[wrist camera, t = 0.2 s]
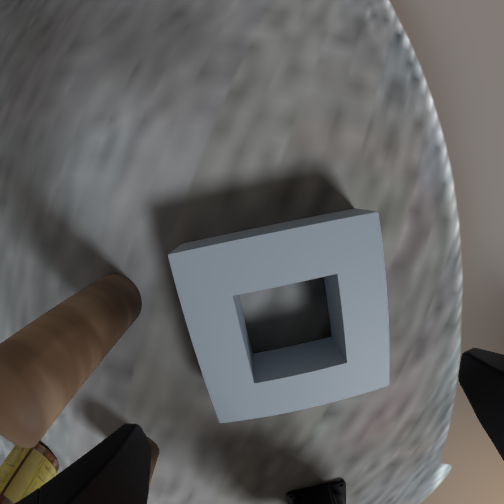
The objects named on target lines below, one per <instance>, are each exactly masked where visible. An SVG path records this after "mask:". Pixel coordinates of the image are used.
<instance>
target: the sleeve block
mask: <svg viewBox="0 0 504 504" xmlns="http://www.w3.org/2000/svg"><path fill="white" fill-rule="evenodd" d="M168 258H169V262H170V266H171V270H172V274H173V277H174V281H175V285H176V289H177V292H178V296H179V299H180V303H181V307H182V310H183V314H184V317H185V320H186V324H187V327H188V330H189V334H190V337H191V340H192V344H193V347H194V350H195V353H196V356H197V359H198V362H199V365H200V369H201V372H202V375H203V378H204V380H205V383H206V386H207V389H208V392H209V395H210V398H211V401H212V403H213V406H214V409H215V412H216V414H217V417H218V420H219V423H227V422H235V421H242V420H249V419H255V418H261V417H267V416H273V415H278V414H283V413H288V412H293V411H298V410H302V409H307V408H311V407H315V406H320V405H324V404H328V403H331V402H335V401H339V400H343V399H346V398H350V397H353V396H357V395H360V394H363V393H367V392H370V391H373V390H376V389H379V388H382V387H385V386H388V385H389V318H388V299H387V285H386V273H385V262H384V253H383V244H382V236H381V228H380V221H379V214H378V212H377V211H370V210H362V209H349V210H344V211H339V212H333V213H328V214H323V215H318V216H313V217H308V218H303V219H298V220H293V221H288V222H283V223H278V224H273V225H268V226H263V227H258V228H253V229H248V230H243V231H239V232H234V233H229V234H224V235H220V236H215V237H210V238H206V239H201V240H196V241H192V242H187V243H183V244H181V245H180V246H178V247H177V248H176V249H174V250H173V251H172V252H170V253H169V254H168ZM320 277H324V283H325V289H326V297H327V304H328V311H329V319H330V327H331V335H332V337H328V338H324V339H320V340H315V341H311V342H307V343H302V344H298V345H293V346H289V347H284V348H279V349H274V350H269V351H264V352H259V353H254V354H253V353H252V349H251V345H250V340H249V336H248V332H247V328H246V324H245V319H244V315H243V311H242V306H241V302H240V298H239V295H240V294H245V293H250V292H255V291H260V290H265V289H269V288H274V287H279V286H284V285H288V284H293V283H298V282H302V281H307V280H312V279H316V278H320Z"/></svg>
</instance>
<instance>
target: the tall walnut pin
mask: <svg viewBox="0 0 504 504" xmlns="http://www.w3.org/2000/svg"><path fill="white" fill-rule="evenodd" d="M141 306H142V302H141V296H140V293H139V291H138V289H137V287H136V286H135V285H134V283H133V282H132V281H131V280H129V279H128V278H126V277H125V276H122V275H119V274H108V275H105V276H103V277H102V278H100V279H99V280H97V281H95V282H94V283H92V284H90V285H89V286H87V287H86V288H84V289H82V290H81V291H79V292H78V293H76V294H74V295H73V296H71V297H70V298H68V299H67V300H65V301H63V302H62V303H60V304H59V305H57V306H56V307H54V308H53V309H51V310H50V311H48V312H46V313H45V314H43V315H42V316H40V317H39V318H37V319H36V320H34V321H33V322H31V323H30V324H28V325H27V326H25V327H24V328H22V329H21V330H20V331H18V332H17V333H15V334H14V335H12V336H11V337H9V338H8V339H6V340H5V341H4V342H2V343H1V344H0V434H1V435H2V436H3V437H5V438H6V439H7V440H9V441H11V442H12V443H14V444H16V445H18V446H21V447H25V448H32V447H35V446H36V445H37V444H38V442H39V441H40V439H41V438H42V437H43V435H44V434H45V433H46V431H47V430H48V429H49V427H50V426H51V425H52V423H53V422H54V421H55V419H56V418H57V417H58V415H59V414H60V413H61V411H62V410H63V409H64V407H65V406H66V405H67V404H68V402H69V401H70V400H71V398H72V397H73V396H74V395H75V393H76V392H77V391H78V389H79V388H80V387H81V386H82V384H83V383H84V382H85V381H86V379H87V378H88V377H89V376H90V374H91V373H92V372H93V371H94V369H95V368H96V367H97V366H98V364H99V363H100V362H101V361H102V359H103V358H104V357H105V356H106V354H107V353H108V352H109V351H110V350H111V348H112V347H113V346H114V345H115V343H116V342H117V341H118V340H119V339H120V337H121V336H122V335H123V334H124V333H125V331H126V330H127V329H128V328H129V327H130V325H131V324H132V323H133V322H134V321H135V319H136V318H137V317H138V316H139V314H140V311H141Z"/></svg>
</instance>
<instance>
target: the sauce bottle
mask: <svg viewBox="0 0 504 504" xmlns="http://www.w3.org/2000/svg"><path fill="white" fill-rule="evenodd" d="M58 469H59V464H58V462H57V459H56V458H55V456H54V455H53V454H52V452H51V451H50V450H48V449H47V448H46V447H44V446H43V445H42V444H41V443H39V442H38V444H37V445H36V446H35V447H32V448H25V447H21V446H18V445H15V447H14V448H13V449H12V451H11V452H10V454H9V455H8V456H7V458H6V459H5V461H4V463H3V464H2V465H1V467H0V504H14V503H16V502H18V501H20V500H21V499H23V498H24V497H26V496H27V495H29V494H30V493H32V492H33V491H35V490H36V489H38V488H40V487H41V486H42V485H43V484H45V483H46V482H48V481H49V480H51V479H52V478H53V477H55V476H56V475H57V471H58Z"/></svg>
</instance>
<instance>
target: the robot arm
mask: <svg viewBox="0 0 504 504" xmlns="http://www.w3.org/2000/svg"><path fill="white" fill-rule="evenodd" d="M458 377H459V382H460V385H461V387H462V388H463V390H464V392H465V394H466V396H467V398H468V400H469V402H470V404H471V406H472V408H473V410H474V412H475V414H476V416H477V418H478V419H479V421H480V423H481V425H482V426H483V428H484V429H485V431H486V433H487V434H488V436H489V437H490V439H491V440H492V442H493V443H494V445H495V447H496V449H497V450H498V452H499V454H500V455H501V457H502V459H503V460H504V355H502V354H498V353H495V352H490V351H486V350H482V349H478V348H472V349H470V350H468V351H465V352H464V353H463V354H462V356H461V362H460V369H459V375H458ZM151 456H152V447H151V444H150V442H149V440H148V438H147V437H146V435H145V433H144V432H143V430H142V428H141V427H140V426H139V425H138V424H124V425H123V426H121V427H120V428H119V429H117V430H116V431H115V432H114V433H112V434H111V435H110V436H108V437H107V438H106V439H105V440H103V441H102V442H101V443H99V444H98V445H97V446H95V447H94V448H93V449H91V450H90V451H89V452H88V453H86V454H85V455H84V456H82V457H81V458H79V459H78V460H77V461H75V462H74V463H73V464H71V465H70V466H69V467H67V468H66V469H65V470H63V471H62V472H60V473H59V474H58V475H56V476H55V477H53V478H52V479H51V480H49V481H48V482H46V483H45V484H43V485H42V486H41V487H40V488H38V489H36V490H35V491H33V492H32V493H30V494H29V495H27V496H26V497H24V498H23V499H21V500H20V501H18V502H16V503H14V504H147V499H148V492H149V480H150V467H151ZM286 496H287V500H288V504H346V483H345V481H344V480H341V481H337V482H333V483H329V484H325V485H321V486H316V487H312V488H307V489H302V490H297V491H291V492H288V493H287V494H286Z"/></svg>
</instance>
